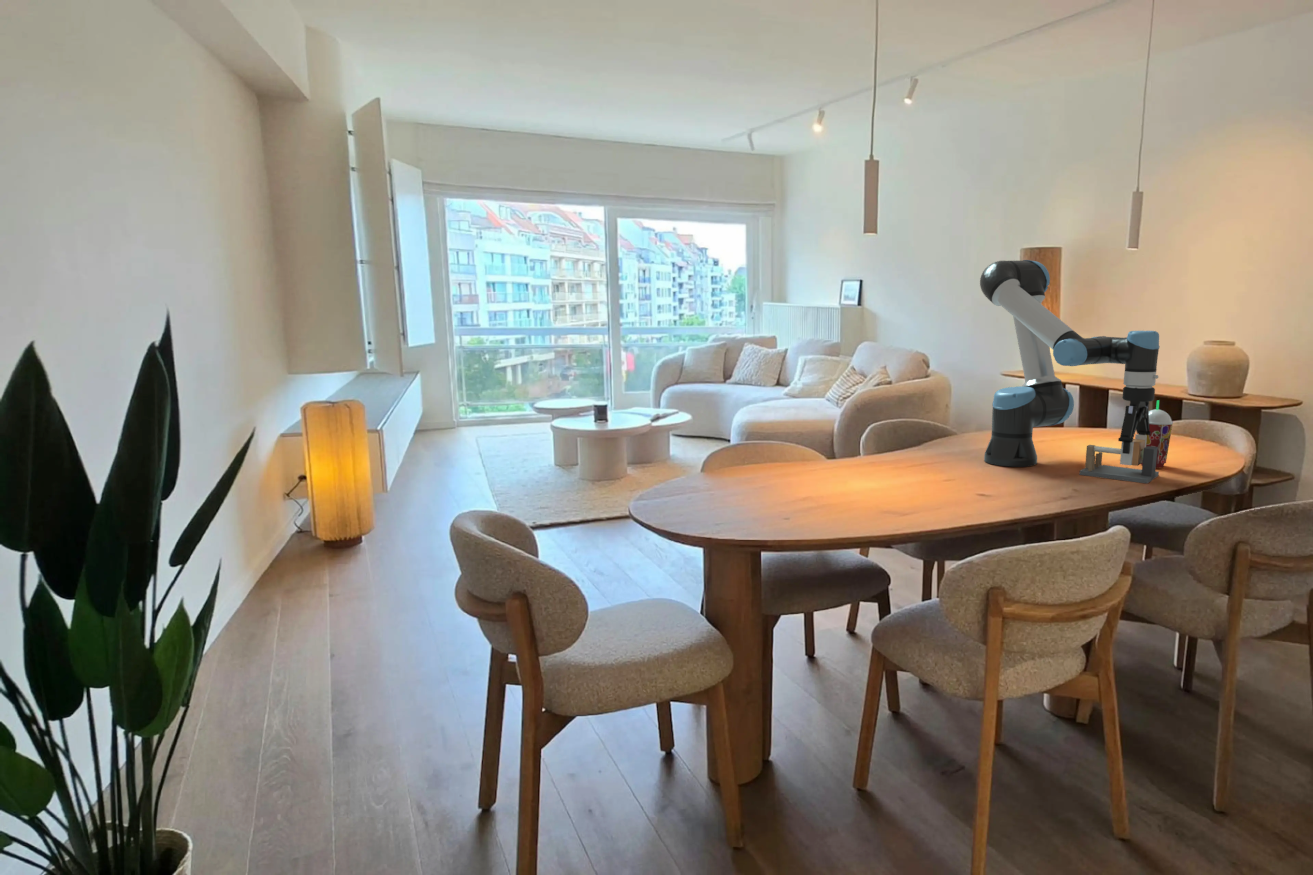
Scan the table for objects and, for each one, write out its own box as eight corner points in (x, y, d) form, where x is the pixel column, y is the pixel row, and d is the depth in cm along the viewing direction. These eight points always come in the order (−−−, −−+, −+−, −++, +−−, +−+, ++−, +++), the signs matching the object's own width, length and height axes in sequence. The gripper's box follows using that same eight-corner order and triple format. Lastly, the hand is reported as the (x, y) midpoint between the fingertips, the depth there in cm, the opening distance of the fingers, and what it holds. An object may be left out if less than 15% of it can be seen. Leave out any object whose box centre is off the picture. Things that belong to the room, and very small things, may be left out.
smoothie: (1175, 468, 223) (1181, 401, 219) (1146, 469, 223) (1152, 402, 219) (1157, 462, 231) (1163, 398, 227) (1129, 463, 231) (1135, 399, 227)
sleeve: (1121, 464, 213) (1123, 441, 212) (1127, 460, 217) (1129, 438, 216) (1137, 465, 210) (1139, 443, 209) (1143, 462, 214) (1145, 440, 213)
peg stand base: (1079, 474, 219) (1081, 444, 217) (1092, 467, 227) (1094, 438, 225) (1147, 483, 206) (1150, 451, 205) (1158, 475, 215) (1161, 444, 213)
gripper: (1142, 391, 199) (1135, 470, 202) (1166, 383, 216) (1159, 455, 219) (1110, 390, 204) (1104, 466, 208) (1136, 381, 221) (1130, 452, 225)
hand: (1132, 460), depth 213 cm, fingers open, 13 cm apart
